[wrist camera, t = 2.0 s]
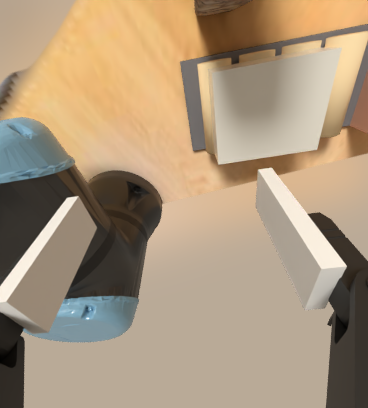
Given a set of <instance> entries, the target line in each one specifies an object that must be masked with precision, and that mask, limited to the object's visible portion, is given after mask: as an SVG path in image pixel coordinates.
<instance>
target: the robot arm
mask: <svg viewBox="0 0 368 408" xmlns="http://www.w3.org/2000/svg"><path fill="white" fill-rule="evenodd" d="M256 209H257V211H258V213H259V215H260V217H261V219H262V221H263V223H264V226H265V228H266V230H267V232H268V234H269V236H270V238H271V240H272V242H273V245H274V247H275V249H276V251H277V253H278V255H279V257H280V259H281V261H282V263H283V266H284V268H285V270H286V272H287V274H288V276H289V278H290V280H291V282H292V285H293V287H294V289H295V291H296V293H297V295H298V297H299V299H300V302H301V304H302V306H303V308H304V310H311V309H323V308H325V307H326V305H327V303H328V301H329V302H330V304H331V305H332V307H333V309H334V312H333V314H332V316H331V317H330V319H329V322H328V325H329V326H331V325H332V332H331V346H330V360H329V374H328V387H327V402H326V408H368V261H367V260H366V259H365V258H364V256H363V255H361V253H360V252H359V251H358V250H357V249H356V248H355V246H354V245H353V244H352V243H351V242H350V241H349V239H348V238H346V237H345V235H344V234H343V233H342V232H341V230H339V228H338V227H337V226H336V225H335V224H334V222H333V221H332V220H331V219H329V218H328V217H326V216H324V215H323V214H321V213H311V214H307V213H306V212H305V211H304V210H303V208H302V207H301V205H300V204H299V203H298V201H297V200H296V199H295V197H294V196H293V195H292V194H291V192H290V191H289V190H288V188H287V187H286V186H285V184H284V183H283V182H282V180H281V179H280V178H279V176H278V175H277V174H276V173H275V171H274V170H273V169H272V168H265V169H258V177H257V193H256ZM161 212H162V201H161V198H160V196H159V194H158V192H157V190H156V189H155V188H154V187H153V186H152V185H151V184H150V183H149V182H148V181H147V180H145V179H144V178H142V177H140V176H138V175H136V174H133V173H129V172H125V171H108V172H104V173H101V174H98V175H96V176H95V177H93V178H92V179H91V180H90V181H89V182H88V183H87V182H86V180H85V179H84V177H83V176H82V174H81V173H80V172H79V170H78V169H77V167H76V166H75V160H74V159H73V157H71V156H70V155H68V154H67V153H66V151H65V150H64V148H63V147H62V146H61V144H60V143H59V142H58V140H57V139H56V138H55V136H54V135H53V134H52V132H51V131H50V130H49V129H48V128H47V127H46V126H45V125H44V124H42V123H40V122H39V121H36V120H34V119H30V118H23V117H21V118H12V119H7V120H2V121H0V408H23V407H24V405H23V404H24V349H25V347H24V338H23V337H21V336H20V335H21V333H22V331H24V332H25V333H27V334H29V335H32V336H35V337H39V338H43V339H48V340H54V341H62V342H96V341H104V340H109V339H112V338H115V337H118V336H120V335H122V334H123V333H124V332H126V331H127V330H128V329H129V328H130V326H131V325H132V322H133V319H134V315H135V311H136V308H137V304H138V302H139V299H138V295H139V289H140V283H141V277H142V271H143V265H144V259H145V253H146V246H147V241H148V239H149V238H150V236H151V235H152V233H153V232H154V230H155V228H156V227H157V226H158V224H159V222H160V219H161Z"/></svg>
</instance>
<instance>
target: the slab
mask: <svg viewBox="0 0 368 408" xmlns="http://www.w3.org/2000/svg"><path fill="white" fill-rule="evenodd" d="M341 49H342V48H314V49H309V50H304V51H299V52H294V53H289V54H283V55H278V56H273V57H268V58H263V59H258V60H253V61H248V62H242V63H237V64H232V65H227V66H222V67H217V68H212V69H208V79H209V91H210V104H211V117H212V130H213V143H214V153H215V156H216V159H217V162H218V165H220V164H227V163H233V162H240V161H246V160H253V159H259V158H266V157H272V156H279V155H286V154H292V153H299V152H305V151H312V150H317V148H318V144H319V140H320V136H321V131H322V127H323V123H324V119H325V115H326V111H327V107H328V103H329V99H330V94H331V90H332V86H333V82H334V78H335V74H336V70H337V66H338V62H339V57H340V53H341Z"/></svg>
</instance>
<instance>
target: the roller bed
mask: <svg viewBox="0 0 368 408" xmlns="http://www.w3.org/2000/svg"><path fill="white" fill-rule="evenodd" d="M314 48H342V49H341V53H340V57H339V62H338V66H337V70H336V74H335V78H334V82H333V86H332V90H331V94H330V99H329V103H328V107H327V111H326V115H325V119H324V123H323V127H322V131H321V136H320V137H334V136H337V135H339V134H340V132H341V128H342V127H344V126H350V123H351V120H352V117H353V114H354V111H355V107H356V104H357V101H358V98H359V95H360V92H361V89H362V86H363V83H364V79H365V76H366V73H367V70H368V24H365V25H360V26H355V27H350V28H345V29H341V30H336V31H331V32H326V33H321V34H316V35H311V36H306V37H301V38H296V39H291V40H286V41H281V42H276V43H271V44H266V45H261V46H256V47H251V48H246V49H241V50H236V51H231V52H226V53H221V54H216V55H211V56H206V57H201V58H196V59H191V60H186V61H181V62H180V64H181V71H182V78H183V85H184V92H185V99H186V106H187V112H188V119H189V126H190V133H191V140H192V147H193V151H195V150H201V149H206V152H207V153H209V154H214V155H215V153H214V143H213V130H212V117H211V104H210V91H209V79H208V69H212V68H217V67H222V66H227V65H232V64H237V63H242V62H248V61H253V60H258V59H263V58H268V57H273V56H278V55H283V54H289V53H294V52H299V51H304V50H309V49H314Z"/></svg>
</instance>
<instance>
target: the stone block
mask: <svg viewBox="0 0 368 408" xmlns="http://www.w3.org/2000/svg"><path fill="white" fill-rule="evenodd" d="M194 1H195V13H196V15H197V16H200V15H203V16H206V15H211V14H217V13H221V12H228V11H231V10H233V9H236V8H238V7H240V6H242V5H244V4H246V3H248V2H250V1H252V0H194Z"/></svg>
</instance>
